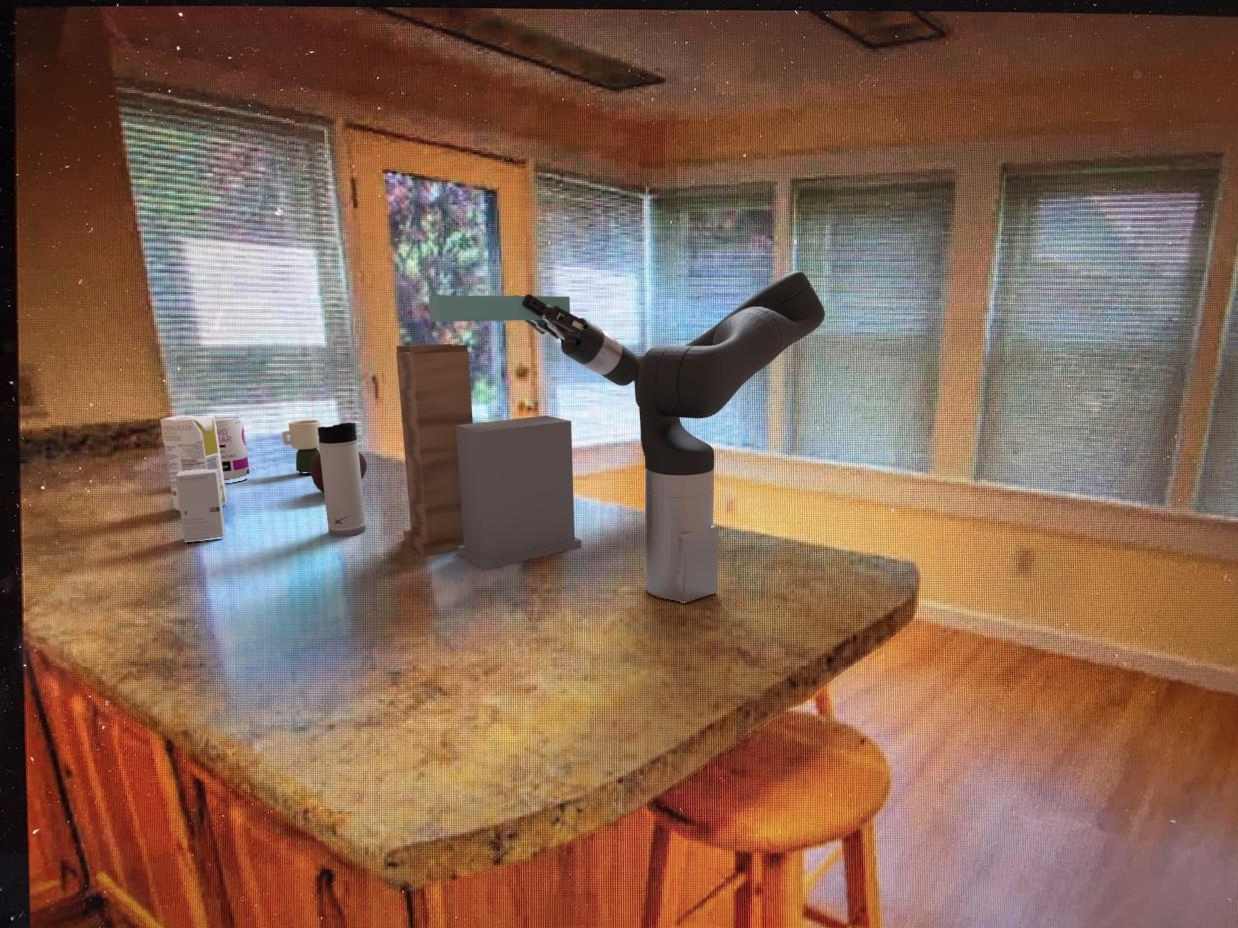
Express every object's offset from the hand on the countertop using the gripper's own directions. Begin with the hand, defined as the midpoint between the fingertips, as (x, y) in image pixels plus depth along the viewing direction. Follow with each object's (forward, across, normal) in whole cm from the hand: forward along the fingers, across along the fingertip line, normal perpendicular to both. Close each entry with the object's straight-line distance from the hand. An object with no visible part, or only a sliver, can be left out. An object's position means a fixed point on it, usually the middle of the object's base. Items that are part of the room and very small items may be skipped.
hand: (518, 299), depth 115 cm
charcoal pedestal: (-13, -11, -39) cm, 43 cm away
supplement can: (+14, +77, -55) cm, 95 cm away
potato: (-1, +47, -46) cm, 65 cm away
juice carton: (+21, +52, -59) cm, 81 cm away
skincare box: (+22, +29, -59) cm, 69 cm away
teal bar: (+1, 0, -4) cm, 5 cm away
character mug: (-1, +73, -46) cm, 86 cm away
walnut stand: (-6, +1, -43) cm, 43 cm away
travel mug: (+4, +17, -49) cm, 52 cm away
